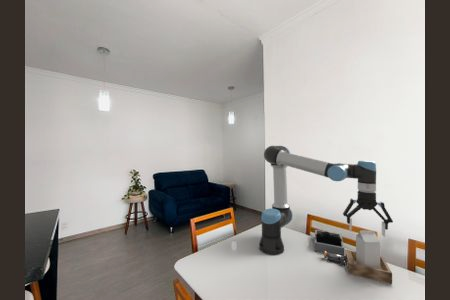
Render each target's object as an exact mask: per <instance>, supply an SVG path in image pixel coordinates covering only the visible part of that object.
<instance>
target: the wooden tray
mask: <svg viewBox="0 0 450 300" xmlns="http://www.w3.org/2000/svg"><path fill="white" fill-rule="evenodd" d="M344 250H345V257H346V261H345V262H346V267H347V270H348V271H347V272H348V274H349V275H353V276H357V277H361V278H365V279H370V280H373V281H378V282H382V283H386V284H390V285H393V273H392V271H391V268H390V267H389V265H388V263H387V262H386V260H385V258H384V257H383V256H382V255H380V269H376V268H372V267H367V266H362V265H358V264H356V250H350V249H346V248H344Z"/></svg>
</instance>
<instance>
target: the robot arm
mask: <svg viewBox="0 0 450 300" xmlns="http://www.w3.org/2000/svg"><path fill="white" fill-rule="evenodd" d="M263 158H264V159H265V162H267V163H269V164H270V166H271V168H272V171H273V172H272V173H273V176H272V177H273V201H274V202H273V203H272V204H271V208H267V209H266V208H265V209H264V210H262V212H261V218H260V219H261V237H260V240H259V242H258V243H259V244H258V245H259V246H258V249H259V250H260V251H261V252H262V253H265V254H267V255H271V256H277V255H281V254H283V253H284V252H285V245H284V242H283V240H282V228H283V227H285V226H286V225H289V224H290V223H291V222H292V220H293V217H294V214H293V211H292V209H291V208H290V207H291V205H290V204H289V203H288V188H287V187H288V184H287V180H288V179H287V167H290V168H294V169H297V170H301V171H304V172H308V173H312V174H314V175H317V176H322V177H324V178H328V179H330V180H331V181H333V182H342V181H344V180H345V179H355V180H357V198H356V199H353V198H350V199H349V203H348V205H347V206H346V208H345V209H344V211H343V213H342V215H343V217H345V218H346V223H347V224H348V225H349V228H348V230H349V231H350V232H352V230H353V224H352V223H353V221H352V219H353V218H352V216H354V215H355V214H356V213H357V212H358V211H360V210H361V209H362V210H364V211H365V210H368V211H372V210H373V211H374V212H375V213H376V214H377V215H378V216H379V218H381V220H382V221H381V236H383V237H384V238H385V237H386V231H387V230H388V229H389V224H390V223H393V222H394V221H393V219H392V217H391V215H390V214H389V211H387V208H386V207H385V203H384V202H383V201H377V193H376V192H377V163H376V162H375V161H372V160H358V161H357V163H356V164H352V163H341V162H339V163H330V162H327V161H324V160H318V159H314V158H310V157H305V156H303V155H297V154H293V153H291V151H290V150H289V148H288V147H286V146H283V145H270V146H268V147H266V148H265V149H264V152H263ZM355 204H357V205H356V206H355V207H354V208H353V209H352V207H353V205H355ZM377 205H378V207H380V208H381V210H382V212H383V214H384V215H385V217H386V218H385V217H384V215H382V214H381V212H379V210H378V209H377V208H376V207H377ZM351 209H352V210H351Z"/></svg>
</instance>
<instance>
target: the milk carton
mask: <svg viewBox="0 0 450 300" xmlns="http://www.w3.org/2000/svg"><path fill="white" fill-rule="evenodd" d="M355 245H356V246H355V251H356V264H358V265H362V266H367V267H372V268H376V269H380V256H381V241H380V239H379V238H378V237H377V234H376V231H375V230H359V233H357V234H356V235H355Z"/></svg>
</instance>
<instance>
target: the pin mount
mask: <svg viewBox="0 0 450 300" xmlns="http://www.w3.org/2000/svg"><path fill="white" fill-rule="evenodd" d="M339 255H343V253H339ZM345 262H346V261H344V258H340V260H338V259H334V258H329V257H327V263H331V264H336V265H340V266H346V263H345Z"/></svg>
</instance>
